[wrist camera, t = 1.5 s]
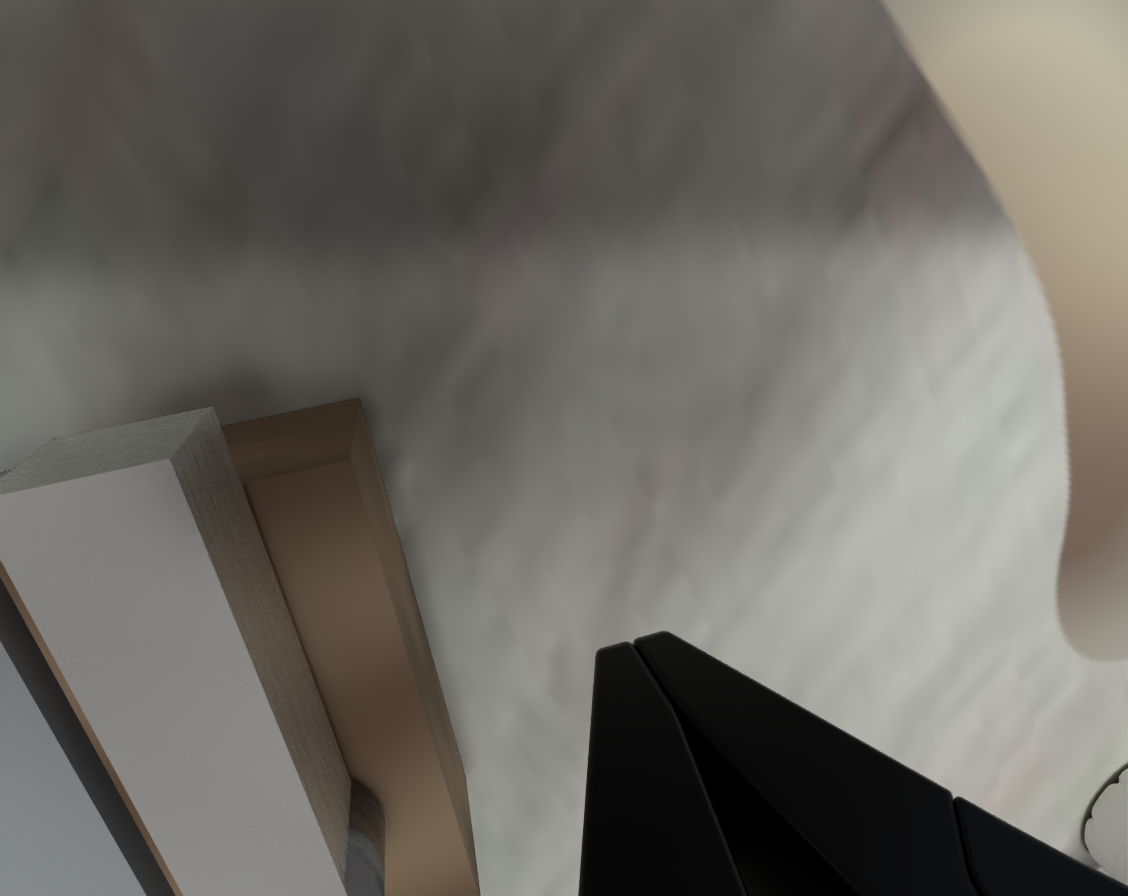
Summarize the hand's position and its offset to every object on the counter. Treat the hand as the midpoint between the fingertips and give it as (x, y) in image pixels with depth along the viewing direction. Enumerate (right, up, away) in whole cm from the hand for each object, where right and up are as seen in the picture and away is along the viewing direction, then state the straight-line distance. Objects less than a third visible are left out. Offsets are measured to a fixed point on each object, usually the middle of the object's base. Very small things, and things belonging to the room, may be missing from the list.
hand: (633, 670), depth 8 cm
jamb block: (-8, -2, +10) cm, 13 cm away
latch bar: (-7, -2, +5) cm, 9 cm away
